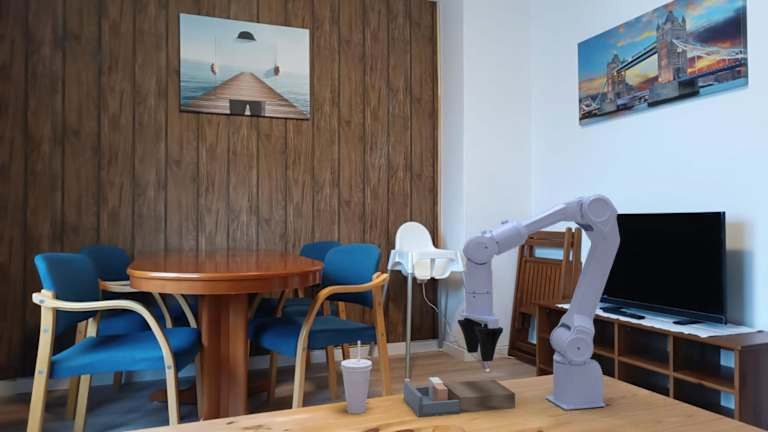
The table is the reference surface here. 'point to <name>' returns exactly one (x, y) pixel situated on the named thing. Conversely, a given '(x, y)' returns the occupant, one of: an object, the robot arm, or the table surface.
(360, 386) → the smoothie
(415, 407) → the tray
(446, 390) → the tile terracotta
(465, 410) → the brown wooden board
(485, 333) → the robot arm
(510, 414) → the table surface
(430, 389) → the tile cream
